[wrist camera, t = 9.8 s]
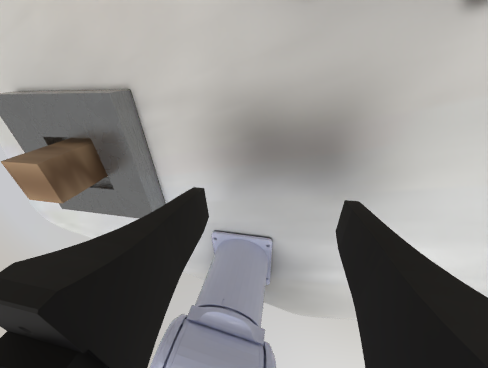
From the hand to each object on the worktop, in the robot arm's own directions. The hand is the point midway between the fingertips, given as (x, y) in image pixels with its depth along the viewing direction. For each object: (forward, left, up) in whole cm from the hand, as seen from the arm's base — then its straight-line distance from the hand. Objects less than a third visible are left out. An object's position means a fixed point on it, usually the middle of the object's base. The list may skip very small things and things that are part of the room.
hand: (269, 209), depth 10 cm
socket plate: (-2, +21, -9) cm, 23 cm away
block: (-2, +21, -9) cm, 23 cm away
